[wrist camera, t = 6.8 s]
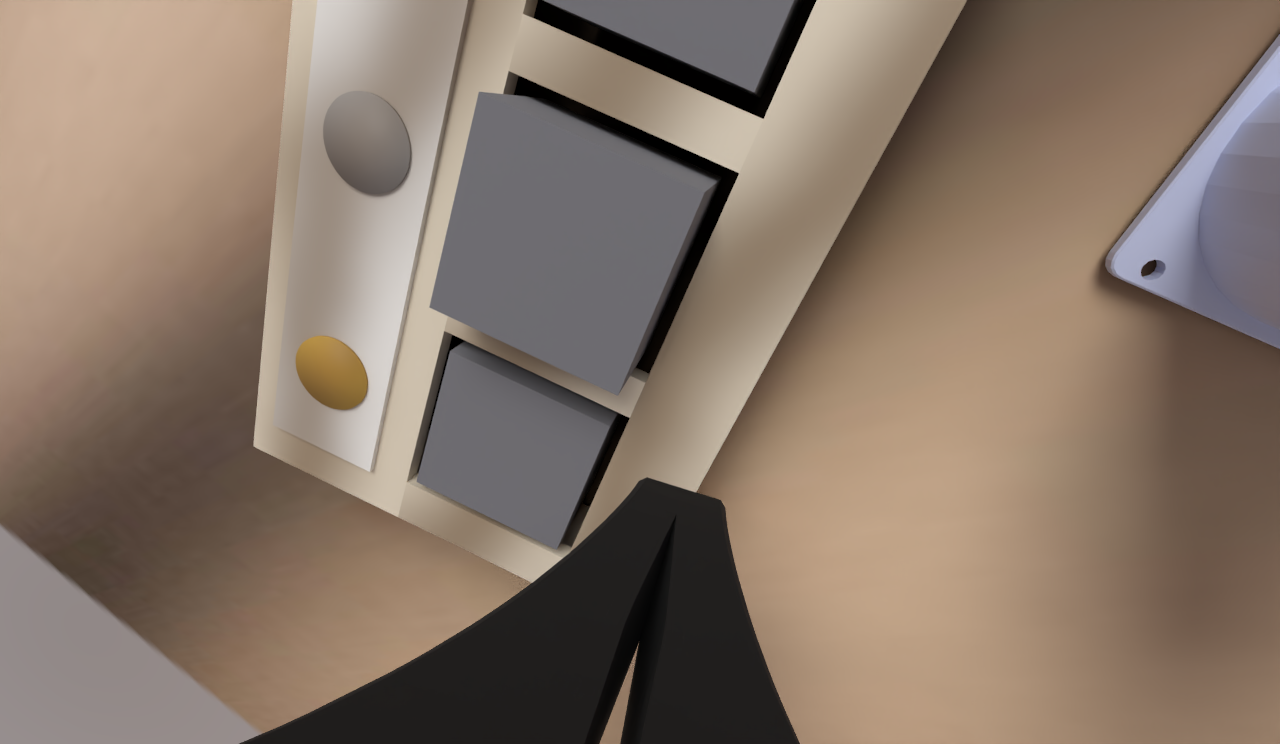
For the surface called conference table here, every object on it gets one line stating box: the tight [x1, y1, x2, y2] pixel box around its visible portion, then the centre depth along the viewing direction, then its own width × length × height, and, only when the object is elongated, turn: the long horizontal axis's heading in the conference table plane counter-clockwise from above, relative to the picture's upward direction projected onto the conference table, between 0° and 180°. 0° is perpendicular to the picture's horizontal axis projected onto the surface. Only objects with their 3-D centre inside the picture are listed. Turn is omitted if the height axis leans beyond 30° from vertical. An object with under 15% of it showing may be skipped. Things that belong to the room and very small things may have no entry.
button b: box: [429, 92, 722, 396], centre depth 14 cm, size 5×5×4 cm
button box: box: [254, 0, 967, 583], centre depth 16 cm, size 14×23×4 cm, turn 159°
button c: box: [416, 341, 622, 550], centre depth 19 cm, size 5×5×4 cm
